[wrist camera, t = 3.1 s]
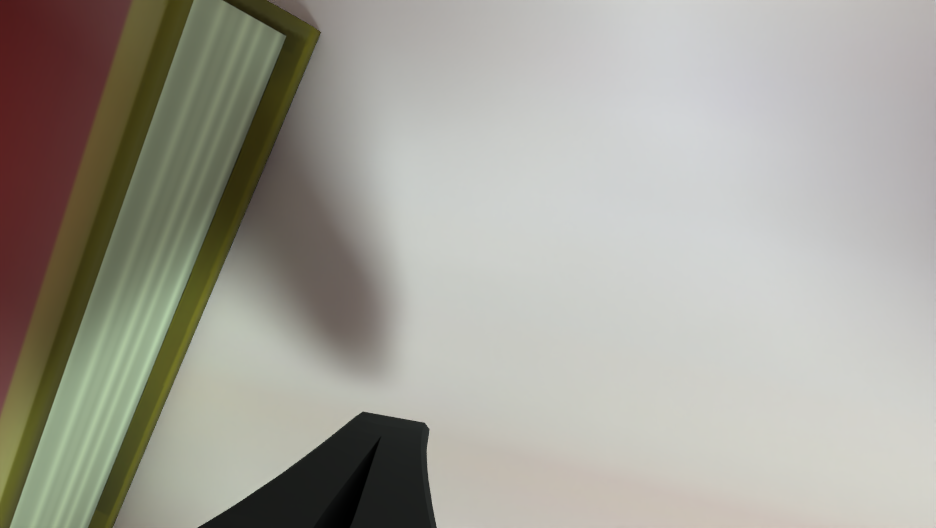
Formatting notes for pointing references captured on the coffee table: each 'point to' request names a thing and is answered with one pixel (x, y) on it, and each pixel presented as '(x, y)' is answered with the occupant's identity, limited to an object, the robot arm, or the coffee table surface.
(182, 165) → the hardcover book
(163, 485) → the coffee table surface
